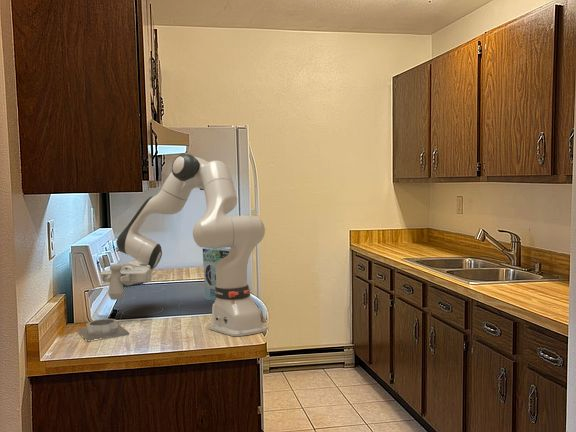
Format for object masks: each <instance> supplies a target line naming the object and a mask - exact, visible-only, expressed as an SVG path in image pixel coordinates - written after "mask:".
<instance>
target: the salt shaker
mask: <svg viewBox="0 0 576 432" xmlns="http://www.w3.org/2000/svg"><path fill="white" fill-rule="evenodd" d="M122 265H123V264H121V263H112V264H110V265H109V270H111V271H112V272H111V281H110V282H109V286H108V291H107V293H108V294H107V295H108V296H109V298H110V300H114V301H115V300H117V301H118V300H122V299H123V298H124V295H125V289H124V288H125V287H123V282H119V281H118V277H121V272H120V270H121V269H122Z"/></svg>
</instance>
